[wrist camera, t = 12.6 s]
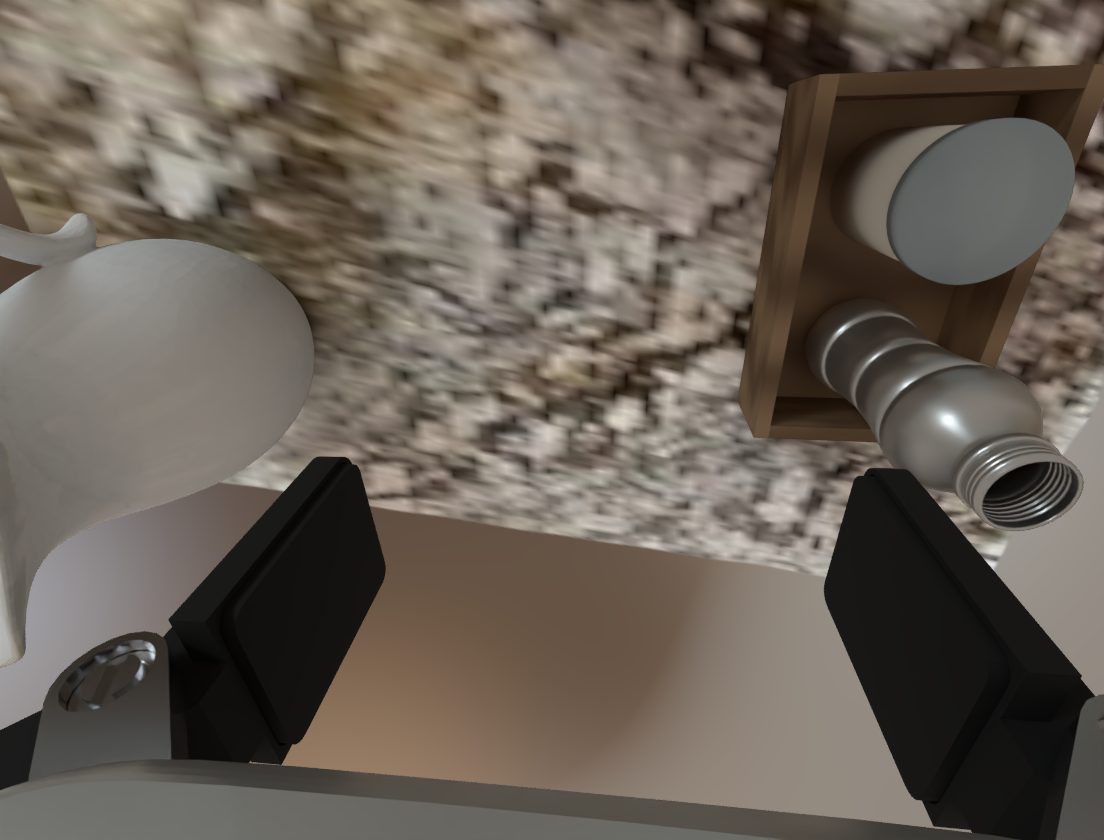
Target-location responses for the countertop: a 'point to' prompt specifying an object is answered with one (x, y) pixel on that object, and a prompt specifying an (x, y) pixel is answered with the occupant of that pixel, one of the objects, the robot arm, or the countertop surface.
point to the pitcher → (131, 386)
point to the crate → (858, 271)
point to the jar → (956, 196)
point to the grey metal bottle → (944, 415)
